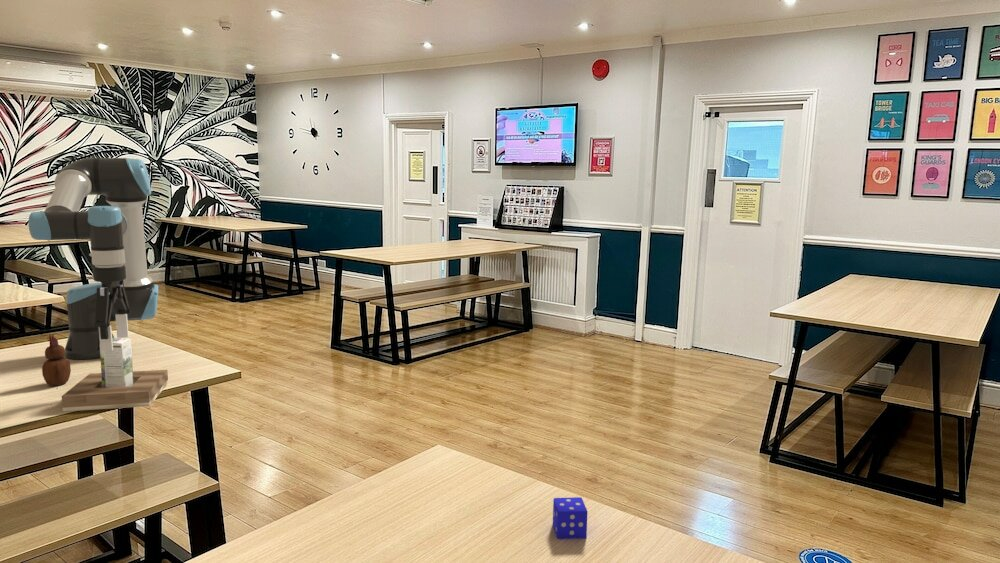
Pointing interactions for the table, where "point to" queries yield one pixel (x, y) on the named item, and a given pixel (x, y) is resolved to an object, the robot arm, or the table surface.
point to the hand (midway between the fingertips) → (115, 343)
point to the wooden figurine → (55, 364)
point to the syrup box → (117, 364)
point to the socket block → (115, 392)
